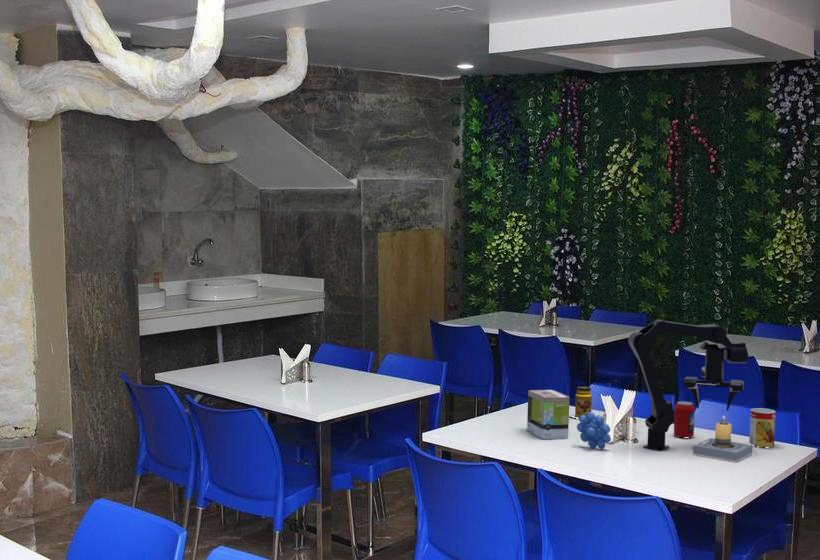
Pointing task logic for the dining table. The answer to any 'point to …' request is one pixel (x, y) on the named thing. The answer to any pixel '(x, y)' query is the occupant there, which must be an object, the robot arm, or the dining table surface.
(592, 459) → the dining table surface
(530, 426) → the tea box
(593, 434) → the grapes
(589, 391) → the condiment
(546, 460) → the dining table surface
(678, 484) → the dining table surface
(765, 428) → the canned food
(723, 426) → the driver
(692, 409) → the beverage can
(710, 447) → the grey square holder
